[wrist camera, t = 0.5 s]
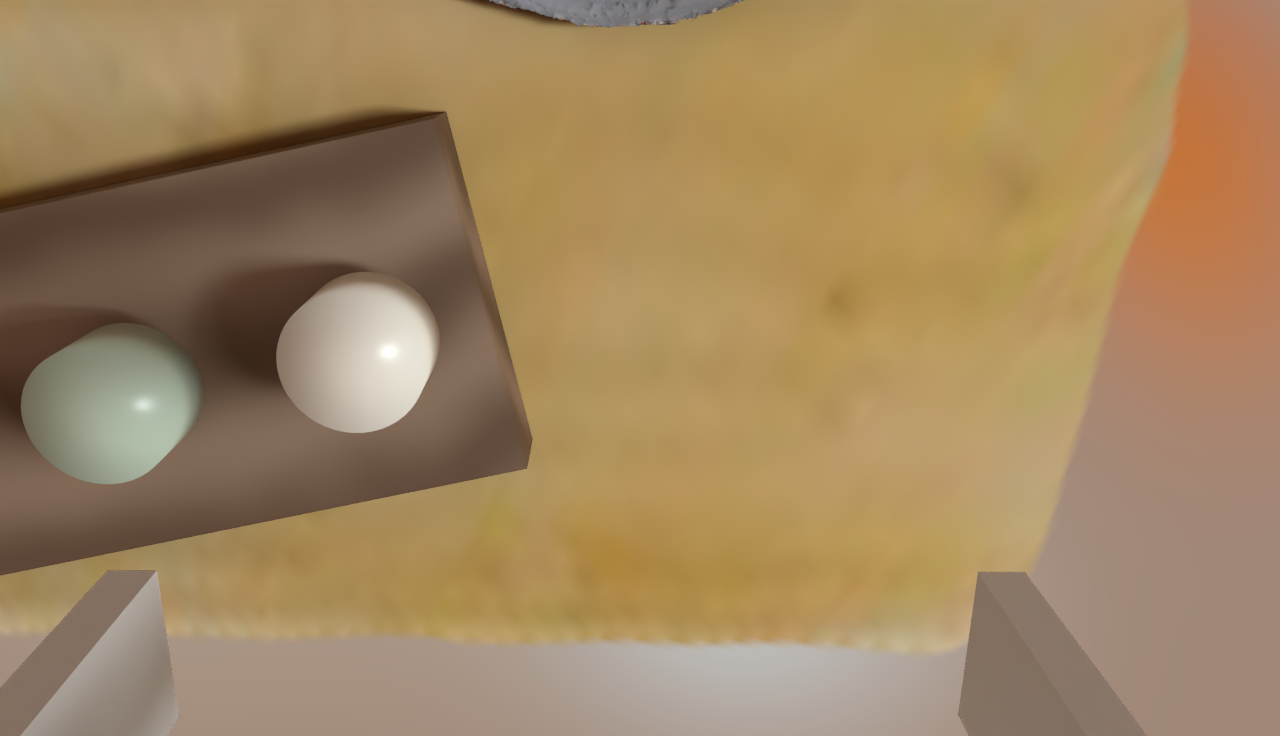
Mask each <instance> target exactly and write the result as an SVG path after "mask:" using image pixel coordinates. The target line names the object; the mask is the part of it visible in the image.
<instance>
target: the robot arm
mask: <svg viewBox="0 0 1280 736" xmlns="http://www.w3.org/2000/svg"><path fill="white" fill-rule="evenodd" d="M958 715H959V717H960V719H961V721H962V723H963V725H964V727H965V729H966V731H967V733H968V735H969V736H1147V735H1146V733H1145V732H1144V731H1143V729H1142V728H1141V727H1140V725H1139V724H1138V723H1137V721H1136V720H1135V719H1134V717H1133V716H1132V715H1131V713H1130V712H1129V711H1128V709H1127V708H1126V707H1125V705H1124V704H1123V703H1122V701H1121V700H1120V699H1119V697H1118V696H1117V695H1116V693H1115V692H1114V691H1113V689H1112V688H1111V687H1110V685H1109V684H1108V683H1107V681H1106V680H1105V679H1104V677H1103V676H1102V675H1101V673H1100V672H1099V671H1098V669H1097V668H1096V667H1095V665H1094V664H1093V663H1092V661H1091V660H1090V658H1089V657H1088V656H1087V655H1086V653H1085V652H1084V650H1083V649H1082V648H1081V646H1080V645H1079V644H1078V643H1077V641H1076V640H1075V638H1074V637H1073V636H1072V635H1071V633H1070V632H1069V630H1068V629H1067V628H1066V626H1065V625H1064V624H1063V622H1062V621H1061V620H1060V618H1059V617H1058V616H1057V614H1056V613H1055V612H1054V610H1053V609H1052V608H1051V606H1050V605H1049V604H1048V602H1047V601H1046V600H1045V598H1044V597H1043V596H1042V594H1041V593H1040V592H1039V590H1038V589H1037V588H1036V586H1035V585H1034V584H1033V582H1032V581H1031V580H1030V578H1029V577H1028V576H1027V574H1026V573H1025V572H978V576H977V584H976V591H975V598H974V605H973V612H972V619H971V627H970V634H969V641H968V648H967V655H966V662H965V670H964V678H963V684H962V691H961V698H960V706H959V713H958ZM178 717H179V714H178V707H177V701H176V694H175V688H174V681H173V674H172V668H171V661H170V655H169V648H168V641H167V635H166V628H165V621H164V615H163V608H162V602H161V595H160V589H159V582H158V575H157V570H107V571H106V573H105V574H104V575H103V576H102V577H101V578H100V579H99V580H98V581H97V582H96V583H95V585H94V586H93V587H92V588H91V589H90V590H89V591H88V592H87V593H86V594H85V596H84V597H83V598H82V599H81V600H80V601H79V602H78V603H77V604H76V605H75V606H74V608H73V609H72V610H71V611H70V612H69V613H68V614H67V615H66V616H65V617H64V619H63V620H62V621H61V622H60V623H59V624H58V625H57V626H56V627H55V628H54V629H53V631H52V632H51V633H50V634H49V635H48V636H47V637H46V638H45V639H44V640H43V642H42V643H41V644H40V645H39V646H38V647H37V648H36V649H35V650H34V651H33V652H32V654H31V655H30V656H29V657H28V658H27V659H26V660H25V661H24V662H23V663H22V665H21V666H20V667H19V668H18V669H17V670H16V671H15V672H14V673H13V674H12V676H11V677H10V678H9V679H8V680H7V681H6V682H5V683H4V684H3V685H2V686H1V688H0V736H167V735H168V733H169V732H170V730H171V728H172V727H173V725H174V723H175V722H176V720H177V719H178Z"/></svg>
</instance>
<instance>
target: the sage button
mask: <svg viewBox="0 0 1280 736" xmlns="http://www.w3.org/2000/svg"><path fill="white" fill-rule="evenodd" d="M203 403H204V388H203V382H202V379H201V376H200V373H199V371H198V368H197V366H196V364H195V363H194V361H193V359H192V358H191V357H190V355H189V354H188V353H187V352H186V350H185V349H184V348H183V347H182V346H181V345H180V344H178V343H177V342H176V341H175V340H173V339H172V338H171V337H169V336H168V335H166V334H164V333H162V332H160V331H158V330H156V329H154V328H151V327H148V326H145V325H140V324H134V323H115V324H109V325H106V326H102V327H100V328H97V329H95V330H93V331H92V332H90V333H88V334H87V335H85V336H83V337H82V338H80V339H78V340H77V341H75V342H73V343H72V344H70V345H68V346H67V347H65V348H63V349H62V350H60V351H58V352H57V353H55V354H53V355H52V356H50V357H48V358H47V359H45V360H44V361H42V362H41V363H40V364H39V365H38V366H37V367H36V368H35V369H34V370H33V371H32V373H31V374H30V376H29V377H28V379H27V381H26V383H25V386H24V388H23V393H22V397H21V414H22V419H23V424H24V426H25V429H26V432H27V434H28V436H29V438H30V440H31V442H32V443H33V444H34V446H35V447H36V449H37V450H38V451H39V452H40V454H41V455H42V456H43V457H44V458H45V459H46V460H47V461H48V462H50V463H51V464H52V465H53V466H55V467H56V468H57V469H59V470H61V471H62V472H64V473H66V474H68V475H70V476H72V477H74V478H77V479H80V480H83V481H86V482H91V483H96V484H118V483H124V482H128V481H132V480H134V479H137V478H139V477H141V476H143V475H144V474H146V473H148V472H149V471H150V470H151V469H153V468H154V467H155V466H156V465H157V464H158V463H159V462H160V461H161V460H162V459H163V458H164V457H165V456H166V455H167V454H168V453H169V452H170V451H171V450H172V449H173V448H174V447H175V446H176V445H177V444H178V443H179V442H180V441H181V440H182V439H183V438H184V437H185V436H186V435H187V434H188V433H189V432H190V431H191V430H192V429H193V428H194V426H195V425H196V423H197V422H198V419H199V417H200V415H201V412H202V409H203Z"/></svg>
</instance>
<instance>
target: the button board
mask: <svg viewBox="0 0 1280 736" xmlns="http://www.w3.org/2000/svg"><path fill="white" fill-rule="evenodd" d="M355 272H377V273H382V274H386V275H389V276H392V277H394V278H397V279H399V280H401V281H403V282H404V283H406V284H407V285H409V286H410V287H412V288H413V289H414V290H415V291H416V292H418V293H419V294H420V295H421V297H422V298H423V299H424V300H425V301H426V303H427V304H428V306H429V307H430V309H431V311H432V313H433V315H434V317H435V319H436V322H437V325H438V330H439V338H440V346H439V354H438V358H437V361H436V364H435V366H434V368H433V370H432V372H431V374H430V376H429V378H428V380H427V382H426V384H425V386H424V388H423V390H422V392H421V394H420V396H419V398H418V400H417V402H416V403H415V404H414V406H413V407H412V409H411V410H410V411H409V412H408V413H407V414H406V415H405V416H404V417H402V418H401V419H400V420H398V421H397V422H395V423H394V424H392V425H390V426H388V427H385V428H383V429H380V430H376V431H373V432H366V433H349V432H342V431H337V430H333V429H331V428H328V427H325V426H323V425H321V424H319V423H317V422H315V421H314V420H312V419H310V418H309V417H308V416H306V415H305V414H304V413H303V412H301V411H300V410H299V409H298V408H297V406H296V405H295V404H294V403H293V402H292V401H291V399H290V398H289V397H288V395H287V393H286V391H285V390H284V388H283V386H282V383H281V381H280V378H279V374H278V370H277V363H276V351H277V345H278V341H279V337H280V334H281V332H282V330H283V328H284V326H285V324H286V323H287V321H288V320H289V318H290V317H291V316H292V315H293V314H294V313H295V312H296V311H297V310H298V309H299V308H300V307H301V306H302V305H303V304H304V303H306V302H307V301H308V300H309V299H310V298H311V297H312V296H313V295H314V294H315V293H316V292H317V291H318V290H320V289H321V288H322V287H323V286H324V285H326V284H327V283H328V282H330V281H332V280H333V279H335V278H338V277H340V276H342V275H346V274H349V273H355ZM115 323H134V324H140V325H145V326H148V327H151V328H154V329H156V330H158V331H160V332H162V333H164V334H166V335H168V336H169V337H171V338H172V339H173V340H175V341H176V342H177V343H178V344H180V345H181V346H182V347H183V348H184V349H185V350H186V352H187V353H188V354H189V355H190V357H191V358H192V359H193V361H194V363H195V364H196V366H197V368H198V371H199V373H200V376H201V379H202V382H203V388H204V403H203V409H202V412H201V415H200V417H199V419H198V422H197V423H196V425H195V426H194V428H193V429H192V430H191V431H190V432H189V433H188V434H187V435H186V436H185V437H184V438H183V439H182V440H181V441H180V442H179V443H178V444H177V445H176V446H175V447H174V448H173V449H172V450H171V451H170V452H169V453H168V454H167V455H166V456H165V457H164V458H163V459H162V460H161V461H160V462H159V463H158V464H157V465H156V466H155V467H154V468H153V469H151V470H150V471H149V472H148V473H146V474H144V475H143V476H141V477H139V478H137V479H134V480H132V481H128V482H124V483H118V484H96V483H91V482H86V481H83V480H80V479H77V478H74V477H72V476H70V475H68V474H66V473H64V472H62V471H61V470H59V469H57V468H56V467H55V466H53V465H52V464H51V463H50V462H48V461H47V460H46V459H45V458H44V457H43V456H42V455H41V454H40V452H39V451H38V450H37V449H36V447H35V446H34V444H33V443H32V442H31V440H30V438H29V436H28V434H27V432H26V429H25V426H24V424H23V419H22V414H21V397H22V393H23V388H24V386H25V383H26V381H27V379H28V377H29V376H30V374H31V373H32V371H33V370H34V369H35V368H36V367H37V366H38V365H39V364H40V363H41V362H42V361H44V360H45V359H47V358H48V357H50V356H52V355H53V354H55V353H57V352H58V351H60V350H62V349H63V348H65V347H67V346H68V345H70V344H72V343H73V342H75V341H77V340H78V339H80V338H82V337H83V336H85V335H87V334H88V333H90V332H92V331H93V330H95V329H97V328H100V327H102V326H106V325H109V324H115ZM531 444H532V436H531V432H530V429H529V425H528V421H527V417H526V413H525V410H524V406H523V402H522V398H521V394H520V391H519V387H518V383H517V379H516V375H515V372H514V368H513V364H512V360H511V356H510V353H509V349H508V345H507V341H506V337H505V334H504V330H503V326H502V322H501V318H500V315H499V311H498V307H497V303H496V299H495V296H494V292H493V288H492V284H491V280H490V277H489V273H488V269H487V265H486V262H485V258H484V254H483V250H482V246H481V243H480V239H479V235H478V231H477V227H476V224H475V220H474V216H473V212H472V208H471V205H470V201H469V197H468V193H467V189H466V186H465V182H464V178H463V174H462V170H461V167H460V163H459V159H458V155H457V151H456V148H455V144H454V140H453V136H452V132H451V129H450V125H449V121H448V117H447V113H446V112H442V113H438V114H433V115H429V116H424V117H420V118H415V119H410V120H406V121H401V122H397V123H392V124H387V125H383V126H378V127H374V128H369V129H365V130H360V131H355V132H351V133H346V134H342V135H337V136H333V137H328V138H323V139H319V140H314V141H310V142H305V143H300V144H296V145H291V146H287V147H282V148H278V149H273V150H268V151H264V152H259V153H255V154H250V155H246V156H241V157H236V158H232V159H227V160H223V161H218V162H213V163H209V164H204V165H200V166H195V167H191V168H186V169H181V170H177V171H172V172H168V173H163V174H159V175H154V176H149V177H145V178H140V179H136V180H131V181H126V182H122V183H117V184H113V185H108V186H104V187H99V188H94V189H90V190H85V191H81V192H76V193H72V194H67V195H62V196H58V197H53V198H49V199H44V200H40V201H35V202H30V203H26V204H21V205H17V206H12V207H7V208H3V209H0V575H5V574H10V573H15V572H20V571H25V570H30V569H34V568H39V567H44V566H49V565H54V564H59V563H64V562H69V561H74V560H79V559H84V558H89V557H94V556H98V555H103V554H108V553H113V552H118V551H123V550H128V549H133V548H138V547H143V546H148V545H153V544H158V543H163V542H167V541H172V540H177V539H182V538H187V537H192V536H197V535H202V534H207V533H212V532H217V531H222V530H227V529H232V528H236V527H241V526H246V525H251V524H256V523H261V522H266V521H271V520H276V519H281V518H286V517H291V516H296V515H300V514H305V513H310V512H315V511H320V510H325V509H330V508H335V507H340V506H345V505H350V504H355V503H360V502H365V501H369V500H374V499H379V498H384V497H389V496H394V495H399V494H404V493H409V492H414V491H419V490H424V489H429V488H433V487H438V486H443V485H448V484H453V483H458V482H463V481H468V480H473V479H478V478H483V477H488V476H493V475H498V474H502V473H507V472H512V471H517V470H522V469H527V466H528V460H529V455H530V450H531Z"/></svg>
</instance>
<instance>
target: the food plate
mask: <svg viewBox="0 0 1280 736" xmlns="http://www.w3.org/2000/svg"><path fill="white" fill-rule="evenodd" d="M490 1H491V2H492V0H490ZM493 1H494V2H495V3H496V4H500V3H501V4H502V5H504V6H508V7H510V8H514V9H515V8H518V7H519V8H521V9H527V10H530V11H532V12H533V11H536V13H539V14H540V15H542V14H544V15H545V16H550V17H553V18H554V19H555V18H556V17H557V18H558V19H559V20H564V19H565V20H566V21H567V20H569V21H571V22H570V23H573V24H576V25H577V26H582V25H587V24H589V26H597V27H598V26H599V24H600V26H601V27H603V26H605V27H608V28H609V27H614V26H633V27H635V26H637V25H638V26H639V25H643V24H644V25H646V24H647V25H648V24H649V25H651V24H653V25H654V24H658V25H668V24H669V25H671V24H675V23H672V22H678V21H679V20H681V19H684V18H686V19H689V18H695V19H696V18H697V16H698V15H702V14H710V13H712V12H715V11H718V10H721V9H723V8H726V7H729V6H732V5H733V4H735V3H739V2H741V1H743V0H493ZM668 22H671V23H668ZM661 23H662V24H661Z"/></svg>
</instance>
